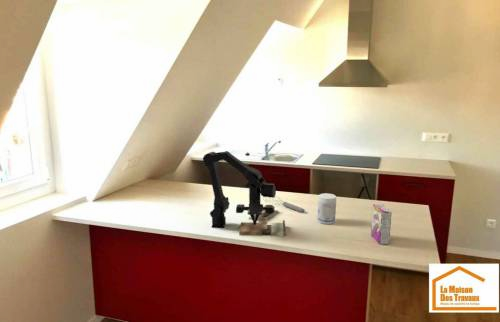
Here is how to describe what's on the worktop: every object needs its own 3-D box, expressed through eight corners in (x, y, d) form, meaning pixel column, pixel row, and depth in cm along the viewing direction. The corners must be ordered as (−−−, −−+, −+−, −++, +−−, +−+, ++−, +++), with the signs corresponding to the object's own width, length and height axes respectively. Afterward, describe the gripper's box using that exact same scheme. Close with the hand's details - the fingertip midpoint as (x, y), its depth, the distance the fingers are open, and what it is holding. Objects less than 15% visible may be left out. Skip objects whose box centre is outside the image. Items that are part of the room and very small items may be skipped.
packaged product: (264, 214, 201) (248, 211, 206) (264, 223, 202) (248, 219, 207) (279, 205, 216) (263, 202, 221) (278, 213, 217) (263, 210, 222)
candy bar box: (369, 235, 185) (372, 203, 181) (379, 235, 185) (382, 203, 182) (379, 245, 174) (381, 211, 171) (389, 244, 174) (392, 211, 171)
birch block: (258, 228, 189) (258, 220, 188) (258, 225, 193) (258, 217, 192) (267, 228, 188) (267, 220, 187) (267, 225, 193) (267, 217, 192)
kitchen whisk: (303, 215, 213) (303, 205, 212) (260, 202, 237) (260, 192, 235) (309, 212, 217) (309, 202, 216) (267, 200, 241) (267, 190, 240)
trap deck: (239, 235, 186) (239, 228, 185) (241, 225, 198) (240, 219, 197) (285, 235, 185) (285, 229, 184) (284, 226, 196) (284, 220, 196)
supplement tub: (316, 218, 208) (317, 193, 205) (333, 218, 208) (334, 193, 205) (319, 224, 198) (320, 198, 195) (337, 224, 198) (338, 198, 195)
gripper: (234, 200, 180) (235, 230, 183) (273, 200, 179) (273, 231, 182) (236, 193, 191) (237, 222, 194) (273, 193, 190) (273, 222, 193)
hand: (254, 224), depth 191 cm, fingers closed
